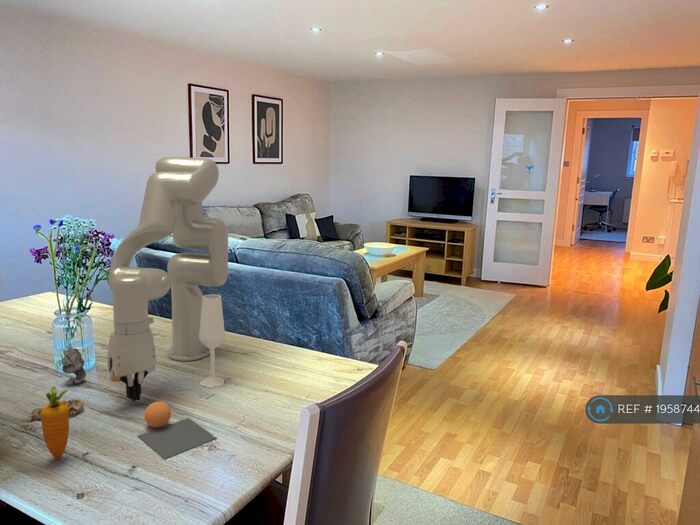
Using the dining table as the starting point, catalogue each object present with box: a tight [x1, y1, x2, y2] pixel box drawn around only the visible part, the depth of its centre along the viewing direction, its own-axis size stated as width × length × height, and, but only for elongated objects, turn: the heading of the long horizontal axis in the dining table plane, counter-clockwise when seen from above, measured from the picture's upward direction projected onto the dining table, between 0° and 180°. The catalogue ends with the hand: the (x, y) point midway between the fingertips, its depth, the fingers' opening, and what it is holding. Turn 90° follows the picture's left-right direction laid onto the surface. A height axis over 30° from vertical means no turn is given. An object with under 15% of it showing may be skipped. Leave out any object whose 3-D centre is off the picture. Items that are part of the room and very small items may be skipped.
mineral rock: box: [30, 398, 85, 421], centre depth 120 cm, size 11×4×8 cm
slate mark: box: [137, 417, 218, 460], centre depth 111 cm, size 12×12×1 cm
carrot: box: [40, 385, 70, 460], centre depth 100 cm, size 5×5×15 cm
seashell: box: [60, 346, 87, 385], centre depth 135 cm, size 5×5×10 cm
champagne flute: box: [199, 294, 226, 387], centre depth 138 cm, size 7×7×24 cm
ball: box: [143, 401, 172, 429], centre depth 115 cm, size 6×6×6 cm
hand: (134, 398), depth 125 cm, fingers closed
